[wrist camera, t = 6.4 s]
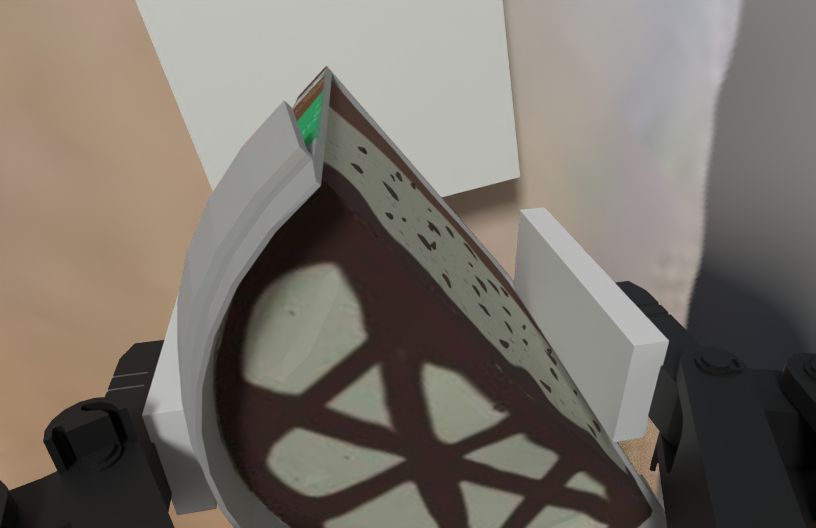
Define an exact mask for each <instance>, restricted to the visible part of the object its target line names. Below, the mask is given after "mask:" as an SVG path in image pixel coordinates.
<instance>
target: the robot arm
mask: <svg viewBox="0 0 816 528" xmlns="http://www.w3.org/2000/svg"><path fill="white" fill-rule="evenodd" d="M514 289H515V290H516V292H517V293H518V295H519V297H520V298H521V300H522V301H523V303H524V304H525V306H526V308H527V309H528V311H529V312H530V314H531V315H532V317H533V318H534V320H535V322H536V323H537V325H538V326H539V328H540V329H541V331H542V333H543V334H544V336H545V337H546V339H547V340H548V342H549V344H550V345H551V347H552V348H553V350H554V351H555V353H556V354H557V356H558V358H559V359H560V361H561V362H562V364H563V365H564V367H565V369H566V370H567V372H568V373H569V375H570V376H571V378H572V379H573V381H574V383H575V384H576V386H577V387H578V389H579V390H580V392H581V394H582V395H583V397H584V398H585V400H586V401H587V403H588V405H589V406H590V408H591V409H592V411H593V412H594V414H595V415H596V417H597V419H598V420H599V422H600V423H601V425H602V426H603V428H604V430H605V431H606V433H607V434H608V436H609V437H610V439H611V440H612V442H619V441H625V440H631V439H637V438H643V437H644V436H645V432H646V428H647V424H648V420H649V418H650V419H651V420H652V422H653V423H654V424H655V426H656V427H657V428H658V430H659V431H660V432H659V435H658V439H657V443H656V446H655V450H654V453H653V457H652V461H651V466H650V470H651V471H655V470H656V466H657V463H659V470H660V477H661V485H662V492H663V500H664V507H665V515H666V522H667V528H816V354H812V353H799V354H794V355H792V356H791V357H789V358H788V359H787V362H786V364H785V367H784V369H783V371H778V370H766V369H754V368H748V367H747V366H746V364H745V363H744V362H743V361H742V360H741V359H740V358H738V357H737V356H736V355H734V354H733V353H730V352H728V351H726V350H724V349H722V348H717V347H713V346H709V345H701V344H700V343H699V342H698V341H697V340H696V339H695V338H694V337H693V336H692V335H691V334H689V332H688V331H687V330H686V329H685V328H684V327H683V326H682V325H681V324H680V323H679V322H678V321H677V320H676V319H675V318H674V317H673V316H672V315H671V314H670V315H668V312H667V311H666V310H665V309H664V308H663V307H662V306H661V305H659V304H658V302H657V301H656V300H655V299H654V298H653V297H652V296H651V295H650V294H649V293H648V292H647V291H646V290H644V289H643V288H641V287H639V286H637V285H635V284H633V283H631V282H630V281H624V282H616V283H614V281H613V280H612V279H611V278H610V277H609V276H608V275H607V274H606V273H605V272H604V271H603V270H602V269H601V268H600V267H599V265H598V264H597V263H596V262H595V261H594V260H593V259H592V258H591V257H590V256H589V255H588V254H587V253H586V252H585V250H584V249H583V248H582V247H581V246H580V245H579V244H578V243H577V242H576V241H575V240H574V239H573V238H572V237H571V236H570V234H569V233H568V232H567V231H566V230H565V229H564V228H563V227H562V226H561V225H560V224H559V223H558V222H557V221H556V220H555V218H554V217H553V216H552V215H551V214H550V213H549V212H548V211H547V210H546V209H545V208H535V209H525V210H520V217H519V229H518V241H517V253H516V265H515V277H514ZM178 295H179V293H178ZM177 300H178V297H177ZM177 300H176V303H175V307H174V310H173V313H172V317H171V320H170V323H169V327H168V330H167V333H166V337H165V340H159V341H151V342H143V343H135V344H134V345H133V346H132V347H131V348H130V349H129V350H128V351H127V352H126V353H125V354H124V355H123V356H122V357H121V358H120V359H119V362H118V365H117V367H116V370H115V372H114V375H113V376H114V378H112V380H111V383H110V385H109V388H108V390H109V391H108V392H107V393H106V395H105V397H102V398H93V399H89V400H85V401H82V402H79V403H77V404H75V405H73V406H71V407H69V408H67V409H65V410H64V411H62V412H61V413H60V414H59V415H58V416H56V417H55V418H54V419H53V420H52V421H51V422H50V424H49V425H48V427H47V428H46V430H45V432H44V440H43V442H44V444H45V446H46V448H47V450H48V452H49V454H50V456H51V458H52V460H53V462H54V464H55V467H56V469H57V471H56V472H54V473H52V474H50V475H48V476H46V477H43V478H41V479H39V480H36V481H33V482H31V483H28V484H25V485H23V486H20V487H18V488H15V489H12V490H10V491H9V490H8V488H7V486H6V485H5V484H4V483H2V482H1V481H0V528H174V526H173V523H172V521H171V518H170V516H169V513H168V511H169V506H170V501H171V499H172V502H173V505H174V508H175V511H176V514H177V515H181V514H187V513H193V512H199V511H205V510H211V509H216V506H217V501H216V499H215V497H214V495H213V493H212V491H211V489H210V486H209V484H208V482H207V480H206V478H205V476H204V472H203V470H202V467H201V465H200V463H199V461H198V459H197V457H196V455H195V452H194V450H193V448H192V446H191V442H190V438H189V433H188V429H187V424H186V420H185V415H184V410H183V406H182V399H181V387H180V374H179V362H178V349H177Z"/></svg>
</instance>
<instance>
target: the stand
mask: <svg viewBox="0 0 816 528" xmlns="http://www.w3.org/2000/svg"><path fill="white" fill-rule="evenodd" d="M135 1H136V3H137V6H138V8H139V11H140V13H141V15H142V18H143V20H144V23H145V25H146V28H147V30H148V33H149V35H150V38H151V40H152V42H153V45H154V47H155V50H156V52H157V55H158V57H159V60H160V62H161V65H162V67H163V70H164V72H165V74H166V77H167V79H168V82H169V84H170V87H171V89H172V92H173V94H174V97H175V99H176V101H177V104H178V106H179V109H180V111H181V114H182V116H183V119H184V121H185V124H186V126H187V128H188V131H189V133H190V136H191V138H192V141H193V143H194V146H195V148H196V151H197V153H198V156H199V158H200V160H201V163H202V165H203V168H204V170H205V173H206V175H207V178H208V180H209V183H210V185H211V187H212V190H213V191H214V189H215V188H216V186H217V185H218V183H219V182H220V180H221V179H222V177H223V175H224V174H225V172H226V171H227V169H228V168H229V166H230V165H231V163H232V161H233V160H234V158H235V157H236V155H237V154H238V152H239V151H240V149H241V147H242V146H243V145H244V144H245V143H246V142H247V141H248V139H249V138H250V137H251V136H252V135H253V134H254V133H255V132H256V131H257V129H258V128H259V127H260V126H261V125H262V124H263V123H264V122H265V121H266V119H267V118H268V117H269V116H270V115H271V114H272V113H273V112H274V111H275V110H276V108H277V107H278V106H279V105H280V104H281V103H282V102H283V101H285V102H287V103H288V104H289V105H290V106H291V107H292V108H293V106H294V104H295V102H296V100H297V98H298V96H299V95H300V94H301V93H302V92H303V91H304V89H305V88H306V87H307V86H308V85H309V84H310V83H311V82H312V81H313V80H314V79H315V77H316V76H317V75H318V74H319V73H320V72H321V71H322V70H323V69H324V68H325V66H327V67H328V68H329V69H330V70H331V71H332V72H333V74H334V75H335V76H336V77H337V78H338V79H339V80H340V82H341V83H342V84H343V85H344V86H345V87H346V88H347V90H348V91H349V92H350V93H351V94H352V95H353V96H354V98H355V99H356V100H357V101H358V102H359V103H360V105H361V106H362V107H363V108H364V109H365V110H366V111H367V113H368V114H369V115H370V116H371V117H372V118H373V119H374V121H375V122H376V123H377V124H378V125H379V126H380V127H381V129H382V130H383V131H384V132H385V133H386V134H387V136H388V137H389V138H390V139H391V140H392V141H393V142H394V144H395V145H396V146H397V147H398V148H399V149H400V150H401V152H402V153H403V154H404V155H405V156H406V157H407V158H408V160H409V161H410V162H411V163H412V164H413V165H414V166H415V168H416V169H417V170H418V171H419V172H420V173H421V175H422V176H423V177H424V178H425V179H426V180H427V181H428V183H429V184H430V185H431V186H432V187H433V188H434V189H435V191H436V192H437V193H438V194H439V195H440V196H441V197H445V196H449V195H453V194H457V193H460V192H464V191H468V190H472V189H476V188H480V187H483V186H487V185H491V184H495V183H499V182H503V181H506V180H510V179H514V178H518V177H520V171H519V161H518V151H517V141H516V131H515V121H514V111H513V101H512V91H511V81H510V71H509V61H508V51H507V41H506V31H505V21H504V11H503V1H502V0H135Z"/></svg>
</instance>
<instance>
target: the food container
mask: <svg viewBox="0 0 816 528" xmlns="http://www.w3.org/2000/svg"><path fill="white" fill-rule="evenodd" d="M177 349H178V362H179V374H180V387H181V399H182V406H183V410H184V415H185V420H186V424H187V429H188V433H189V438H190V442H191V446H192V448H193V450H194V452H195V455H196V457H197V459H198V461H199V463H200V465H201V467H202V470H203V472H204V476H205V478H206V480H207V482H208V484H209V486H210V489H211V491H212V493H213V495H214V497H215V499H216V501H217V503H218V505H219V507H220V509H221V512H222V513H223V514H224V515H225V517H226V518H227V519H228V521H229V522H230V523H231V524H232V526H233V527H234V528H667V522H666V515H665V511H664V509H663V508H662V506H661V504H660V503H659V501H658V499H657V498H656V496H655V494H654V493H653V491H652V489H651V488H650V486H649V485H648V483H647V481H646V480H645V478H644V477H643V476H642V474H641V475H639V474H638V473H637V471H636V470H635V468H634V466H633V465H632V463H631V462H630V460H629V459H628V457H627V456H626V454H625V453H624V451H623V450H622V448H621V447H620V445H619V443H618V442H612V440H611V439H610V437H609V436H608V434H607V433H606V431H605V430H604V428H603V426H602V425H601V423H600V422H599V420H598V419H597V417H596V415H595V414H594V412H593V411H592V409H591V408H590V406H589V405H588V403H587V401H586V400H585V398H584V397H583V395H582V394H581V392H580V390H579V389H578V387H577V386H576V384H575V383H574V381H573V379H572V378H571V376H570V375H569V373H568V372H567V370H566V369H565V367H564V365H563V364H562V362H561V361H560V359H559V358H558V356H557V354H556V353H555V351H554V350H553V348H552V347H551V345H550V344H549V342H548V340H547V339H546V337H545V336H544V334H543V333H542V331H541V329H540V328H539V326H538V325H537V323H536V322H535V320H534V318H533V317H532V315H531V314H530V312H529V311H528V309H527V308H526V306H525V304H524V303H523V301H522V300H521V298H520V297H519V295H518V293H517V292H516V290H515V289H514V282H513V281H512V279H511V277H510V276H509V274H508V273H507V272H506V271H505V270H504V269H503V267H502V266H501V265H500V264H499V263H498V262H497V261H496V259H495V258H494V257H493V256H492V255H491V254H490V253H489V251H488V250H487V249H486V248H485V247H484V246H483V245H482V243H481V242H480V241H479V240H478V239H477V238H476V236H475V235H474V234H473V233H472V232H471V231H470V230H469V228H468V227H467V226H466V225H465V224H464V223H463V222H462V220H461V219H460V218H459V217H458V216H457V215H456V214H455V212H454V211H453V210H452V209H451V208H450V207H449V206H448V204H447V203H446V202H445V201H444V200H443V199H442V197H441V196H440V195H439V194H438V193H437V192H436V191H435V189H434V188H433V187H432V186H431V185H430V184H429V183H428V181H427V180H426V179H425V178H424V177H423V176H422V175H421V173H420V172H419V171H418V170H417V169H416V168H415V166H414V165H413V164H412V163H411V162H410V161H409V160H408V158H407V157H406V156H405V155H404V154H403V153H402V152H401V150H400V149H399V148H398V147H397V146H396V145H395V144H394V142H393V141H392V140H391V139H390V138H389V137H388V136H387V134H386V133H385V132H384V131H383V130H382V129H381V127H380V126H379V125H378V124H377V123H376V122H375V121H374V119H373V118H372V117H371V116H370V115H369V114H368V113H367V111H366V110H365V109H364V108H363V107H362V106H361V105H360V103H359V102H358V101H357V100H356V99H355V98H354V96H353V95H352V94H351V93H350V92H349V91H348V90H347V88H346V87H345V86H344V85H343V84H342V83H341V82H340V80H339V79H338V78H337V77H336V76H335V75H334V74H333V72H332V71H331V70H330V69H329V68H328V67H327V66H325V68H324V69H323V70H322V71H321V72H320V73H319V74H318V75H317V76H316V77H315V79H314V80H313V81H312V82H311V83H310V84H309V85H308V86H307V87H306V88H305V89H304V91H303V92H302V93H301V94H300V95H299V96H298V98H297V100H296V102H295V104H294V106H293V108H292V107H291V106H290V105H289V104H288V103H287V102H285V101H283V102H282V103H281V104H280V105H279V106H278V107H277V108H276V110H275V111H274V112H273V113H272V114H271V115H270V116H269V117H268V118H267V119H266V121H265V122H264V123H263V124H262V125H261V126H260V127H259V128H258V129H257V131H256V132H255V133H254V134H253V135H252V136H251V137H250V138H249V139H248V141H247V142H246V143H245V144H244V145H243V146H242V147H241V149H240V151H239V152H238V154H237V155H236V157H235V158H234V160H233V161H232V163H231V165H230V166H229V168H228V169H227V171H226V172H225V174H224V175H223V177H222V179H221V180H220V182H219V183H218V185H217V186H216V188H215V189H214V191H213V193H212V194H211V196H210V197H209V199H208V201H207V204H206V206H205V209H204V211H203V214H202V216H201V219H200V221H199V223H198V226H197V228H196V231H195V233H194V236H193V238H192V240H191V243H190V245H189V248H188V250H187V255H186V260H185V265H184V270H183V275H182V280H181V285H180V290H179V295H178V300H177Z"/></svg>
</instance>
